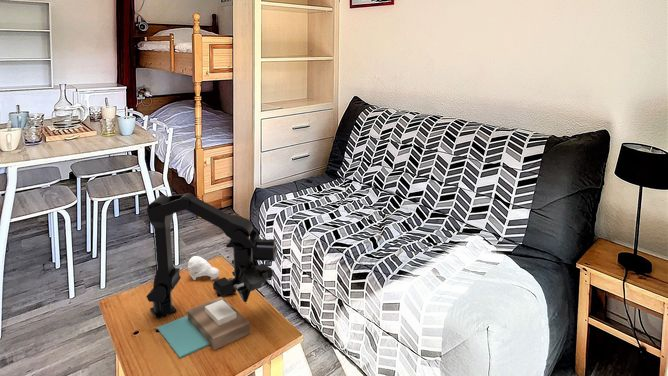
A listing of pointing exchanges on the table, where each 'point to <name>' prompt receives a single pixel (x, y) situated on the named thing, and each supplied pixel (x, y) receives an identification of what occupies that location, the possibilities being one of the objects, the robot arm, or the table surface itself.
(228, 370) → the table surface
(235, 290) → the tape measure
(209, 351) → the table surface
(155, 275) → the robot arm
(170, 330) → the mat
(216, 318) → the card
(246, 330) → the brown flat block
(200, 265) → the white rounded lumpy piece
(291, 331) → the table surface
